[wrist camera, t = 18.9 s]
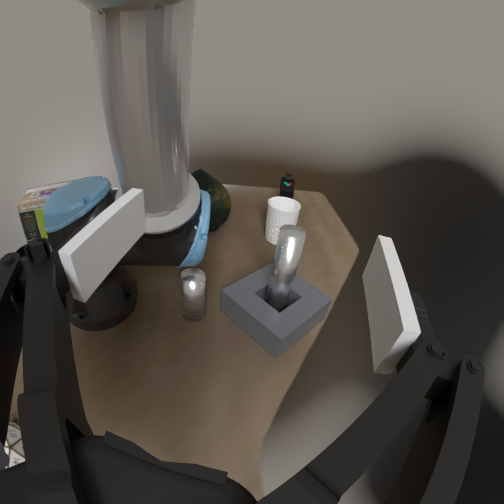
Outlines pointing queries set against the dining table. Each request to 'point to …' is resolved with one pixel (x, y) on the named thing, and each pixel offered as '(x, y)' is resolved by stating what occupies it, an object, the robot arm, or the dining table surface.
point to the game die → (14, 444)
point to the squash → (214, 198)
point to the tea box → (35, 210)
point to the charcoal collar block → (273, 310)
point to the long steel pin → (285, 265)
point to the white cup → (280, 216)
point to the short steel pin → (193, 294)
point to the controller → (287, 186)
